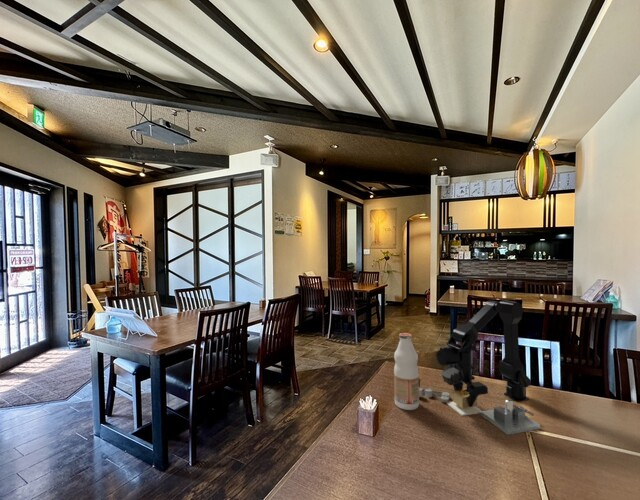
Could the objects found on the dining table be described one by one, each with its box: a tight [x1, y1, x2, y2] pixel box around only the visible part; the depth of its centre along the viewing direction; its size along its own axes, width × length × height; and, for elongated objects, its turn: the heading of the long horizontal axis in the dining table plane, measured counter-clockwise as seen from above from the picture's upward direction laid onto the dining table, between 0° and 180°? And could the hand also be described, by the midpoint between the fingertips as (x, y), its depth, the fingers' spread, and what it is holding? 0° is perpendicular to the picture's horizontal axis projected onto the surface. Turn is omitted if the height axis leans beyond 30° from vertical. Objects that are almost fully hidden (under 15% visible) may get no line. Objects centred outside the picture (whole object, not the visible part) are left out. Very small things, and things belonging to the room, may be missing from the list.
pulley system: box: [419, 387, 451, 404], centre depth 134 cm, size 27×5×15 cm
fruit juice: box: [393, 332, 420, 411], centre depth 122 cm, size 9×9×28 cm
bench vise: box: [480, 398, 541, 436], centre depth 109 cm, size 14×12×8 cm
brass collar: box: [451, 387, 478, 408], centre depth 118 cm, size 6×6×4 cm
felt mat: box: [446, 401, 483, 417], centre depth 118 cm, size 9×9×1 cm
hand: (464, 402), depth 118 cm, fingers closed on brass collar, 6 cm apart
